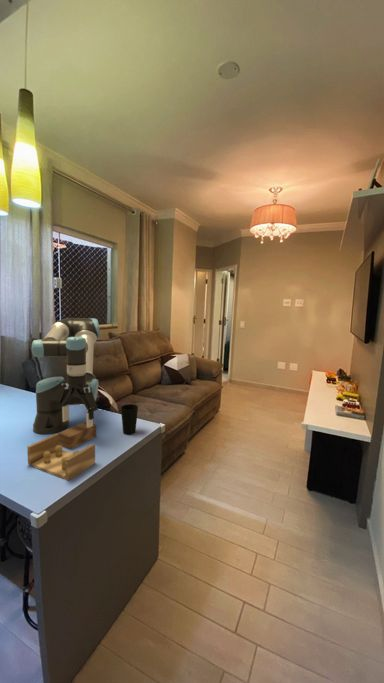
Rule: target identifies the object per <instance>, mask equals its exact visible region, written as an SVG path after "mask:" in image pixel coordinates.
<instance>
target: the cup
mask: <svg viewBox="0 0 384 683" xmlns="http://www.w3.org/2000/svg"><path fill="white" fill-rule="evenodd" d="M138 406H139V405H137V404H133V403H132V404H130V403H128V404H124V405H122V406H120V414H121V422H122V423H121V424H122V433H123V434H124V435H127V436H129V435H135V433H136V430H137V421H138V411H139V407H138Z"/></svg>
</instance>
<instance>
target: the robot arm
mask: <svg viewBox="0 0 384 683" xmlns="http://www.w3.org/2000/svg"><path fill="white" fill-rule="evenodd" d="M100 332H101V331H100V324H99V320H98V319H97V318H94V317H93V318H92V317H89V318H87V317H84V318H83V317H79V318H78V317H65V318H63V319H62V318H61V319H60V320H57V321H56V322H54V323H53V324H52V325H51V326H50V328H49V331H48V332H47V334H46V335H45V336H44V338H43V339H33V341H32V343H31V353H32V356H33V357H35V358H59V357H61V358H62V357H63V358H66V374H67V375H66V379H65V378H64V377H63V376H51V377H47V378H44V379H40V380H39V381H38V382H37V383H36V385H35V398H36V399H35V400H36V401H35V402H36V414H35V419H34V422H33V424H32V431H33V432H34V433H35V434H38V435H39V434H40V435H51V434H57V433H60V432H62V431H64V430H67V429H68V428H69V426H70V407H69V406H74V405H75V406H76V405H84V407H85V409H86V411H87V412H85V413H86V415H85V416H86V422H87V428H89V427H91V426H93V424H94V418H95V411H97V410H99V408H98V404H97V402H96V401H97V397H98V392H99V379H97V378H96V376H95V375H94V374H93V372H94V371H93V369H94V368H93V367H94V346H95V343H96V342H97V340H98V339H100V336H101V334H100Z"/></svg>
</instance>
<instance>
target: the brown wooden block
mask: <svg viewBox="0 0 384 683" xmlns="http://www.w3.org/2000/svg"><path fill="white" fill-rule="evenodd" d="M57 434H59V445H62V448H64V449H67V450H73V449H74V448H76V447H79V446H80V445H82V444H84V443H86V442H88V441H90V440H92V439H94V438H96V437H97V424H95V423H93V426H91V427H89V428H87V421H83V422H81V423H78V424H76V425H74V426H72V427H68V428H66V429H64V430H62V431H60V432H57Z"/></svg>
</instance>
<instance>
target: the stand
mask: <svg viewBox="0 0 384 683" xmlns="http://www.w3.org/2000/svg"><path fill="white" fill-rule="evenodd" d="M26 447H27V448H26V449H27V465H28V464H29V465H32V466H33V467H32V466H31V467H32V468H34V467H36V468H35V469H37V468H38V469H37V470H40V469H41V470H40V471H42V470H43V471H42V472H45V471H46V472H45V473H47V472H48V474H50V475H53V476H56V477H58V478H61V479H64V480H66V481H70V480H72V479H73V478H75V477H77V476H78V475H79V474H81V473H82V472H84V471H85V470H87V469H89V468H90V467H91V466H93V465H94V464H96V445H95V444H92V443H91V444H90V445H88V446H86V447H85V448H82V449H81V450H75V451H73V452H70V451H67V450H64V449H63V447H62V445H59V434H58V433H53V434H52V435H50V436H48V437H47V436H46V437H45V438H42V439H41V440H39V441H36V442H35V443H31V444H29V445H28V446H26ZM29 465H28V466H29Z"/></svg>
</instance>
